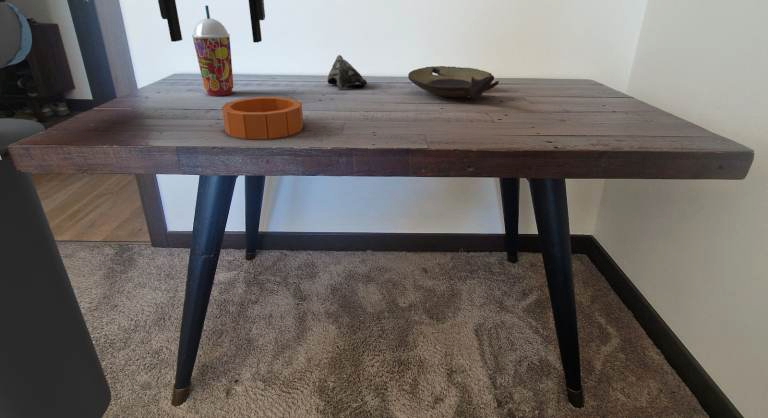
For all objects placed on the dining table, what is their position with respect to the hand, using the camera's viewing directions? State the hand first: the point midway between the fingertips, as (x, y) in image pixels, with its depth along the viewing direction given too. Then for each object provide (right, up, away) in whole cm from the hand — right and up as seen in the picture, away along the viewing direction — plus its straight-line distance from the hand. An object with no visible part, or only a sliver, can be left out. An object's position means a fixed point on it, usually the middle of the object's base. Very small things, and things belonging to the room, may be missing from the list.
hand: (217, 41), depth 74 cm
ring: (+6, -13, +8) cm, 17 cm away
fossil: (+19, +5, +46) cm, 50 cm away
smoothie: (-13, 0, +35) cm, 37 cm away
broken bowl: (+45, 0, +36) cm, 58 cm away
